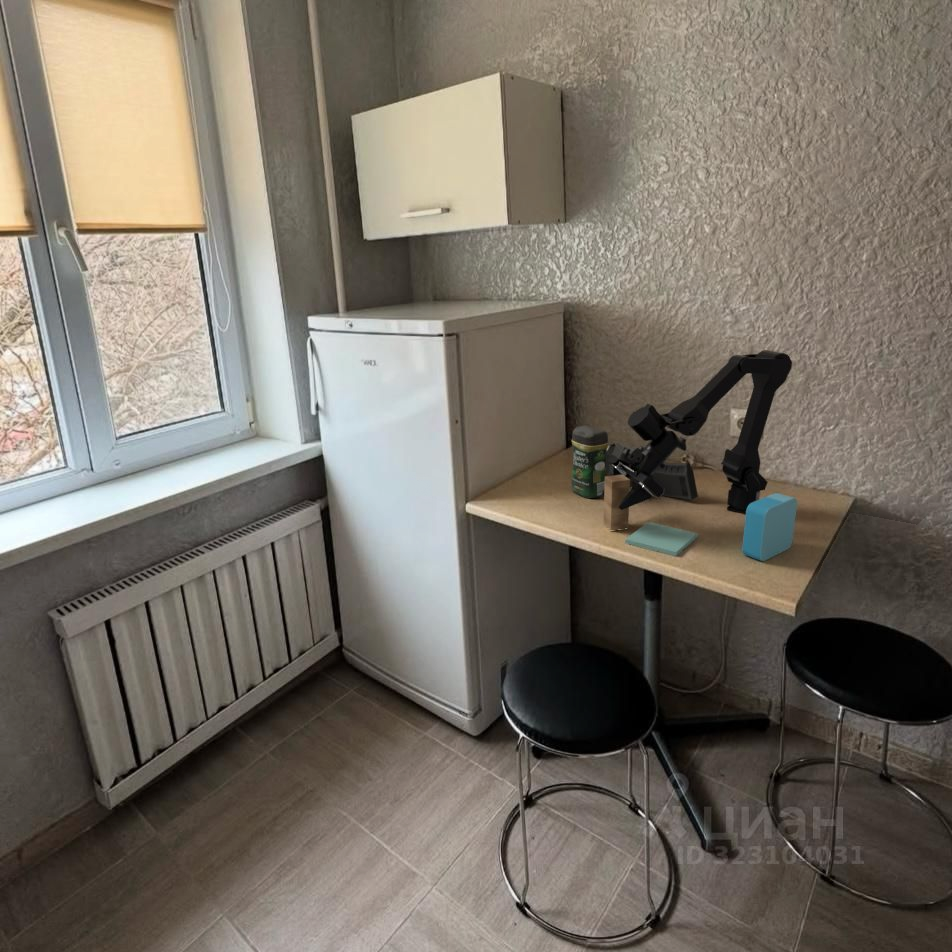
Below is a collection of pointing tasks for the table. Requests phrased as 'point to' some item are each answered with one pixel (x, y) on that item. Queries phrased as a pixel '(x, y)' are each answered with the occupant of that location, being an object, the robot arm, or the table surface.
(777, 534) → the data package
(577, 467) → the coffee jar
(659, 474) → the magazine
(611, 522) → the walnut block
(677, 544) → the teal board
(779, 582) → the table surface
